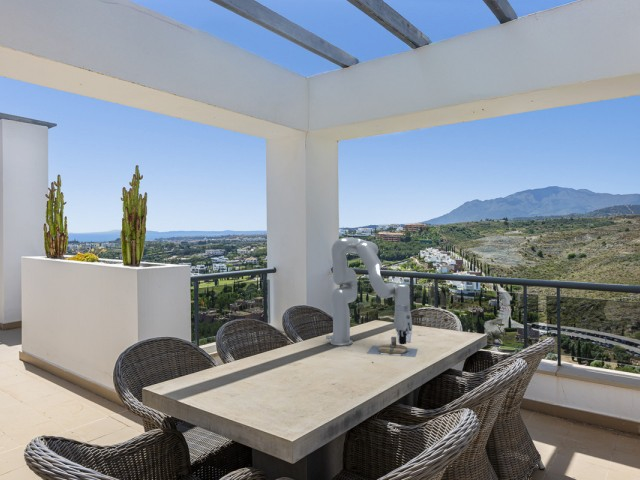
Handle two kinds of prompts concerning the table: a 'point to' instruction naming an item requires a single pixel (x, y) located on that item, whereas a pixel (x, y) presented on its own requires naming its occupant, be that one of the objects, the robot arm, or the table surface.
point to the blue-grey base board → (410, 353)
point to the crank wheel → (392, 348)
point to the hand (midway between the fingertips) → (402, 343)
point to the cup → (408, 337)
